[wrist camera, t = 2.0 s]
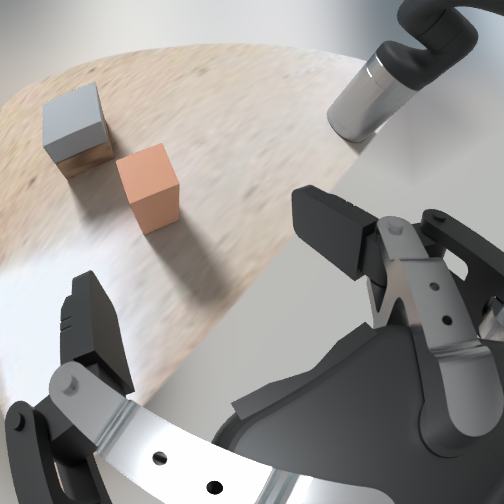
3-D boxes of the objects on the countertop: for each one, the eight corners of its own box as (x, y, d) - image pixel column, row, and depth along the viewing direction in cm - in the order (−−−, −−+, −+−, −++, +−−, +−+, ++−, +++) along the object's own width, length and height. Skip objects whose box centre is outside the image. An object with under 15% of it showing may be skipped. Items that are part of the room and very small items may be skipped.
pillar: (165, 188, 35) (162, 143, 25) (178, 220, 35) (179, 183, 24) (131, 202, 34) (115, 161, 23) (143, 235, 33) (129, 203, 23)
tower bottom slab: (105, 120, 35) (100, 102, 31) (114, 158, 34) (109, 141, 30) (61, 139, 32) (52, 123, 28) (66, 179, 32) (56, 165, 27)
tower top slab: (100, 102, 31) (95, 81, 26) (107, 141, 30) (101, 120, 26) (52, 122, 28) (43, 104, 24) (55, 163, 27) (43, 146, 23)
